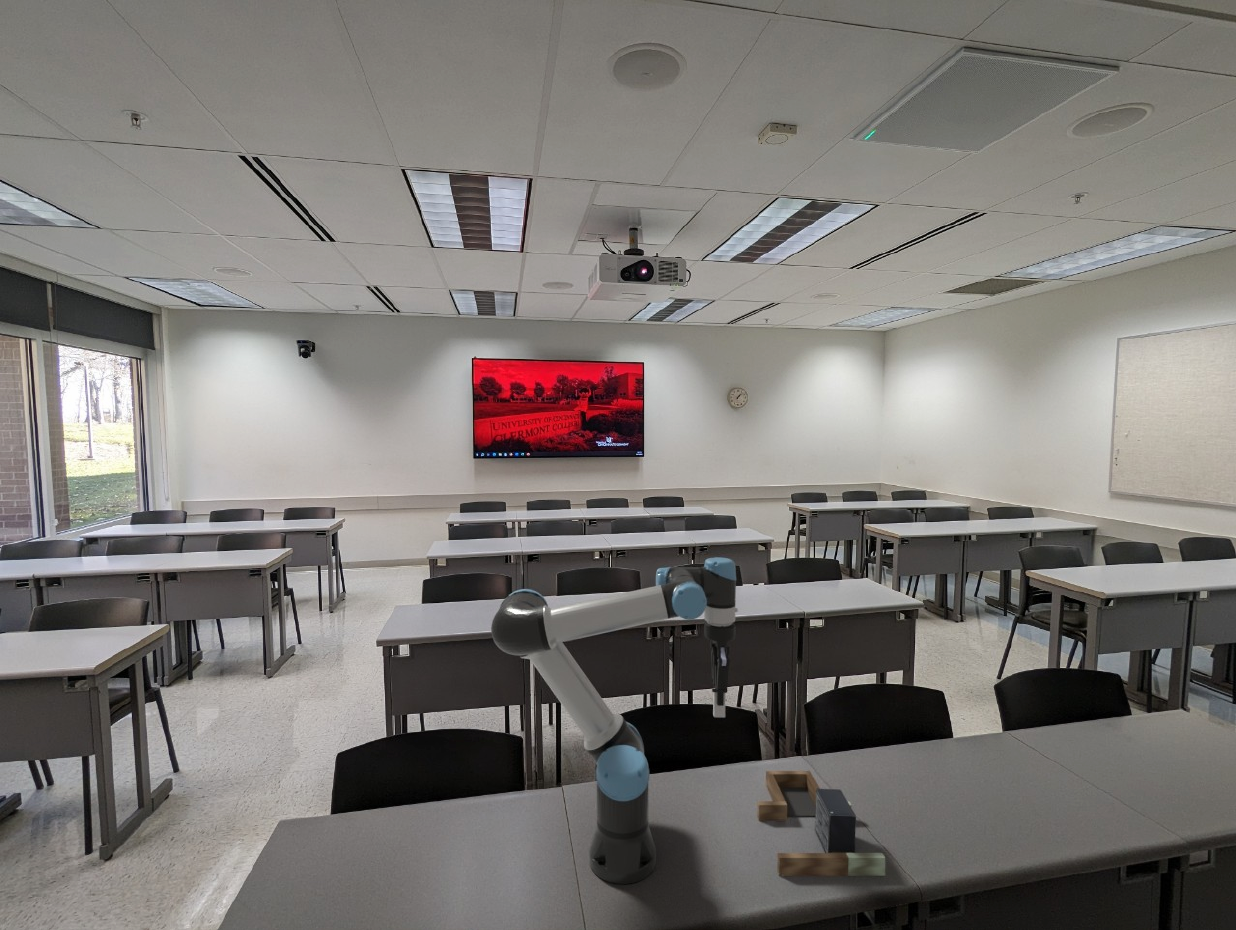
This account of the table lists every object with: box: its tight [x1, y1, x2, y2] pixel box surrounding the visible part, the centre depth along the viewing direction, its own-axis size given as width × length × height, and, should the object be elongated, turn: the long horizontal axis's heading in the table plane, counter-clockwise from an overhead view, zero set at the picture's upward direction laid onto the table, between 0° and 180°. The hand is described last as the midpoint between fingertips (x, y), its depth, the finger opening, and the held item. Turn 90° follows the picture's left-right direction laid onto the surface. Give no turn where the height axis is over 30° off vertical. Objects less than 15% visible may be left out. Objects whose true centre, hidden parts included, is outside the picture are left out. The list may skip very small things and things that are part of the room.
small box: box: [814, 788, 857, 853], centre depth 139 cm, size 11×6×10 cm, turn 178°
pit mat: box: [779, 787, 816, 818], centre depth 155 cm, size 9×12×1 cm
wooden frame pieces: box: [756, 770, 886, 877], centre depth 146 cm, size 23×34×4 cm
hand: (719, 715), depth 147 cm, fingers closed
